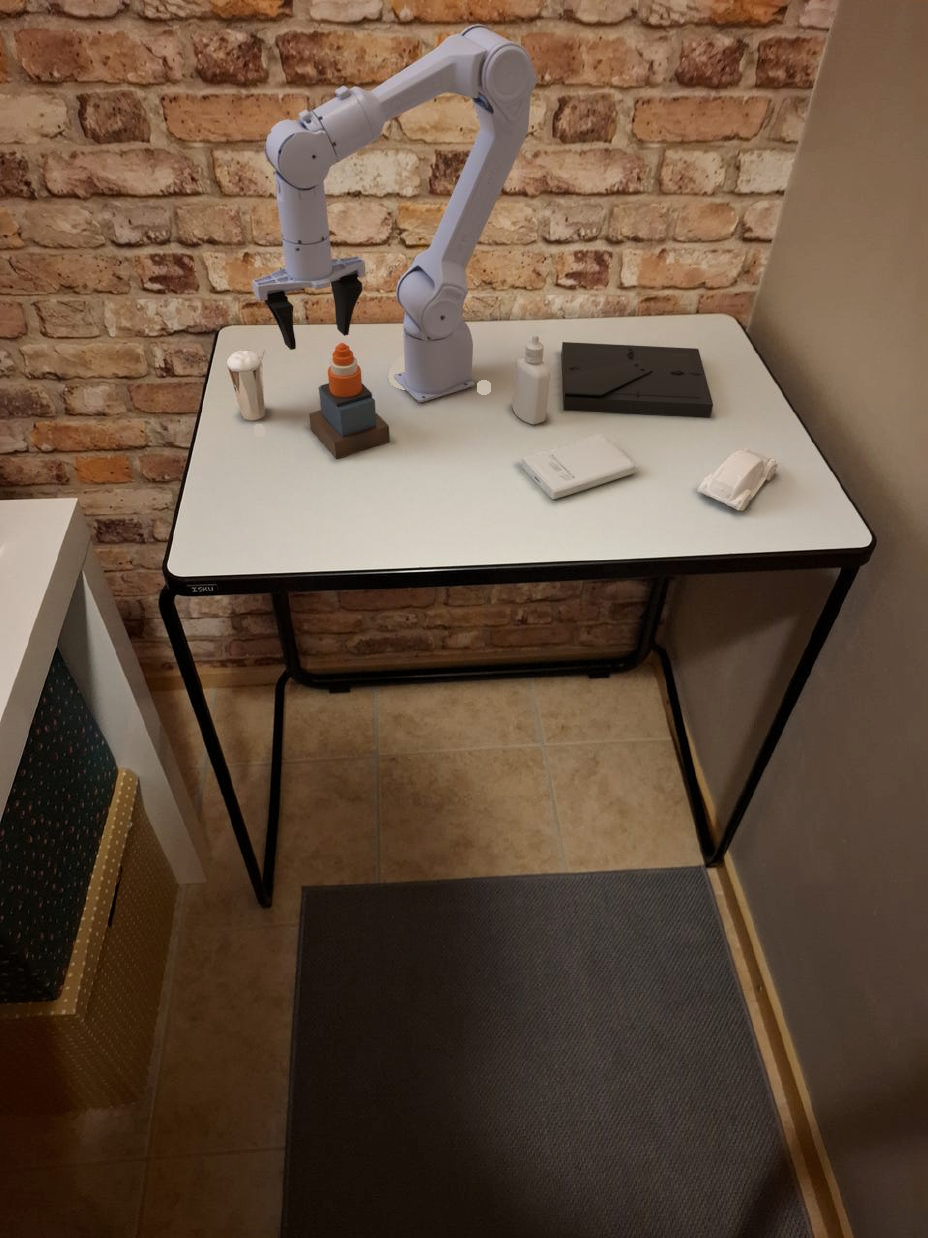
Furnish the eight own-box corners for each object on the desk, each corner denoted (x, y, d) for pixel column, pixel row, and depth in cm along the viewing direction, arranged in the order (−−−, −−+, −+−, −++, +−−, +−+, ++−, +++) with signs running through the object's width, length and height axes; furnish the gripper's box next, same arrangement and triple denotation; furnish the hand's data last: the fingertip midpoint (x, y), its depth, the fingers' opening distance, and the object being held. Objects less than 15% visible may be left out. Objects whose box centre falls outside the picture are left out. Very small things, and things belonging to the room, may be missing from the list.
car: (737, 518, 106) (746, 488, 102) (692, 497, 108) (700, 467, 105) (780, 474, 112) (791, 444, 109) (737, 455, 115) (746, 426, 111)
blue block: (354, 402, 117) (352, 376, 114) (376, 426, 113) (375, 399, 111) (321, 413, 115) (318, 386, 112) (342, 436, 112) (340, 410, 109)
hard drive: (634, 475, 111) (553, 501, 107) (599, 442, 116) (520, 466, 112) (636, 465, 110) (554, 491, 106) (600, 432, 115) (521, 455, 111)
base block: (362, 413, 120) (361, 397, 118) (389, 441, 115) (389, 425, 114) (310, 429, 117) (308, 413, 115) (336, 459, 112) (334, 443, 111)
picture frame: (563, 409, 122) (709, 417, 121) (565, 392, 120) (714, 399, 119) (561, 354, 132) (695, 360, 132) (562, 337, 130) (699, 343, 130)
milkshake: (269, 426, 117) (257, 359, 110) (232, 421, 118) (218, 354, 111) (280, 408, 120) (270, 342, 113) (244, 403, 121) (232, 337, 114)
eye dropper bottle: (541, 403, 123) (549, 325, 114) (546, 425, 119) (554, 346, 110) (511, 404, 122) (516, 325, 114) (515, 426, 119) (521, 346, 110)
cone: (354, 379, 114) (350, 330, 109) (372, 396, 111) (369, 347, 106) (320, 389, 112) (314, 339, 107) (337, 407, 109) (332, 357, 104)
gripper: (262, 259, 98) (278, 366, 108) (374, 234, 104) (379, 338, 114) (239, 237, 103) (256, 342, 112) (348, 214, 108) (355, 316, 118)
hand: (317, 338), depth 113 cm, fingers open, 7 cm apart
